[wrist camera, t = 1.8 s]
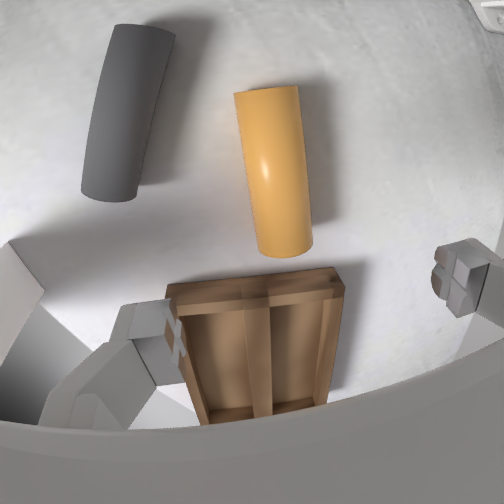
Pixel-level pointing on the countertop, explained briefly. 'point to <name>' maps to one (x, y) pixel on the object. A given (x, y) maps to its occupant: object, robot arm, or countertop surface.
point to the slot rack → (259, 342)
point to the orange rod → (276, 169)
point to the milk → (15, 297)
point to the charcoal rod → (124, 111)
